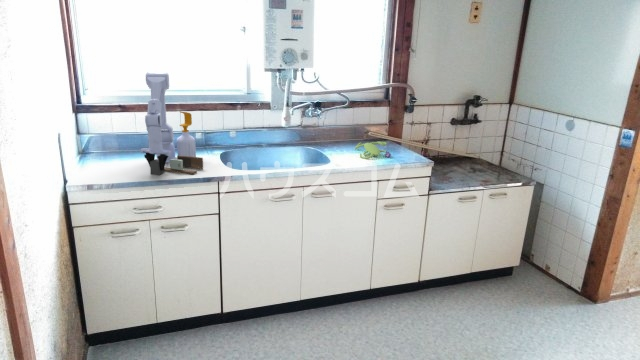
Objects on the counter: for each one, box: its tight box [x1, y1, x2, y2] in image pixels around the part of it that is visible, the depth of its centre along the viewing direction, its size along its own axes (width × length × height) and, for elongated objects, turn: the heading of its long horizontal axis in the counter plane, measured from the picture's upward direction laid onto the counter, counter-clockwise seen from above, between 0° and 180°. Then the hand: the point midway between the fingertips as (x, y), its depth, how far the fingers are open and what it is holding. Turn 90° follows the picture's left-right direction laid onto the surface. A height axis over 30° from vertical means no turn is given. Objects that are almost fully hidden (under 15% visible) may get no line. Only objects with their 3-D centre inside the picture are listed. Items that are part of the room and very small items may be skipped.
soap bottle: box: [176, 111, 197, 157], centre depth 233 cm, size 9×9×25 cm
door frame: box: [164, 154, 204, 176], centre depth 217 cm, size 10×18×6 cm, turn 76°
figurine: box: [354, 141, 392, 160], centre depth 260 cm, size 18×27×6 cm
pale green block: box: [169, 159, 184, 170], centre depth 213 cm, size 2×6×4 cm, turn 76°
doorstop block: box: [149, 158, 166, 176], centre depth 210 cm, size 4×4×6 cm
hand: (157, 169), depth 210 cm, fingers closed on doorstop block, 4 cm apart
